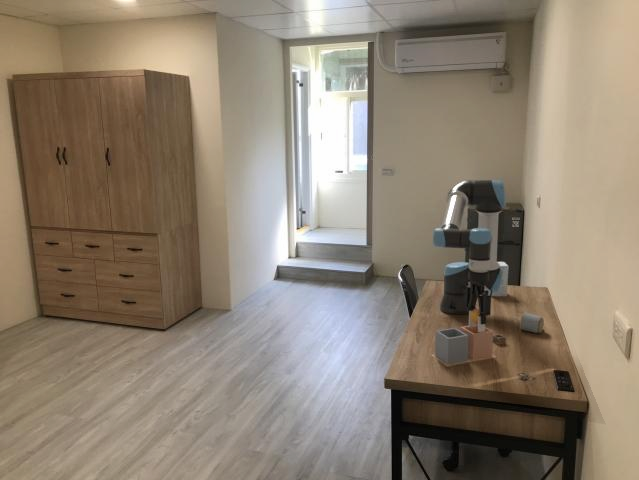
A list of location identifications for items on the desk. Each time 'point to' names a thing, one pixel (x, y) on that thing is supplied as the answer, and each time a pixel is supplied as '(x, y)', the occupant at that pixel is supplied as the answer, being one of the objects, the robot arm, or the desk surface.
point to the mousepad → (525, 376)
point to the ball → (475, 316)
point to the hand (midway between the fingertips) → (476, 329)
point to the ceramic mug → (531, 323)
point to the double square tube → (463, 345)
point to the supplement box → (503, 281)
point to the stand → (499, 339)
